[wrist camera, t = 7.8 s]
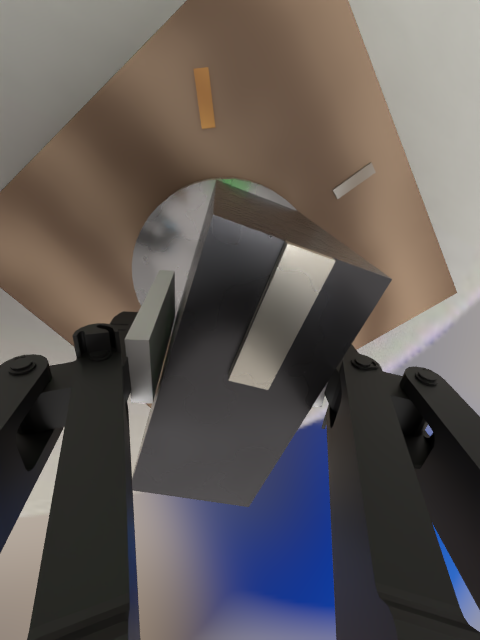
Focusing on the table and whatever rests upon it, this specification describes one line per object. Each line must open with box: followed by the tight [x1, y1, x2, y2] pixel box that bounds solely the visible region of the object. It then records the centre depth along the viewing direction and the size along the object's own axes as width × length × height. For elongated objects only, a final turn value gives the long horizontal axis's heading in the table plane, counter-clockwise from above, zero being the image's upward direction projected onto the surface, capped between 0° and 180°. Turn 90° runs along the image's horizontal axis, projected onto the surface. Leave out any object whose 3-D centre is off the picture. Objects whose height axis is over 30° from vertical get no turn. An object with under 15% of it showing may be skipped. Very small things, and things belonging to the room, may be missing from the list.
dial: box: [132, 177, 392, 507], centre depth 14 cm, size 11×11×12 cm
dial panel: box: [0, 0, 457, 408], centre depth 20 cm, size 24×22×3 cm
